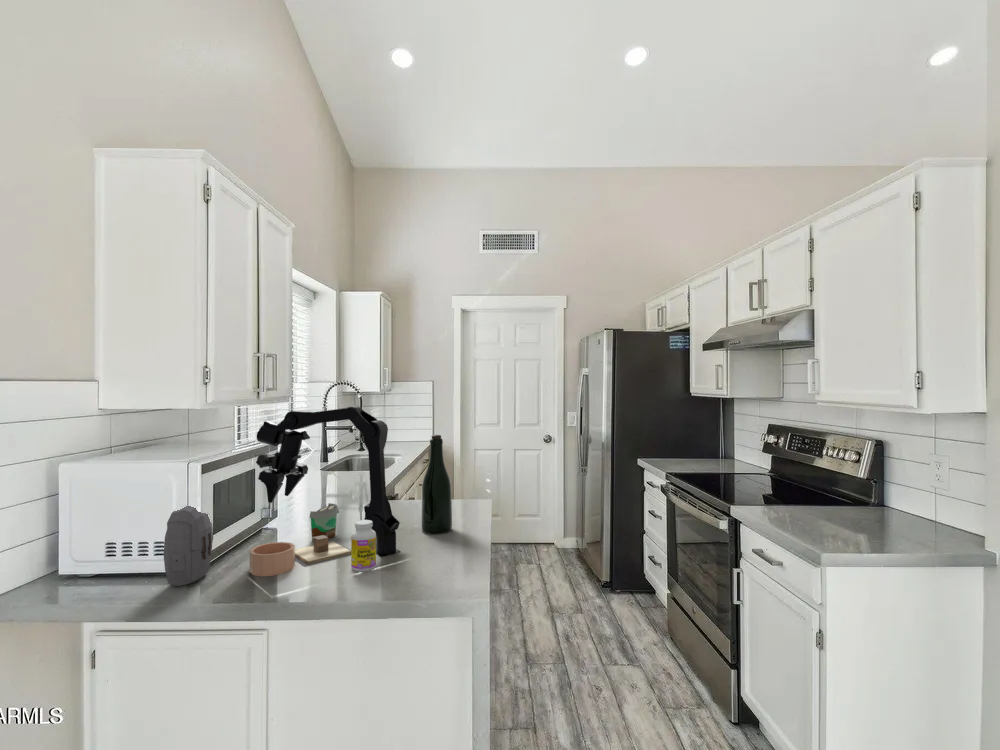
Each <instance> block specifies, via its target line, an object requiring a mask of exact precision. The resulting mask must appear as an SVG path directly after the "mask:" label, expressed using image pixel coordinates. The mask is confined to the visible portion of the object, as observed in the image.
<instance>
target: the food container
mask: <svg viewBox="0 0 1000 750" xmlns="http://www.w3.org/2000/svg"><path fill="white" fill-rule="evenodd" d="M339 513H340V510H339V507H338V505H337V504H336V503H332V502H331V503H329V502H328V504H327V506H326V507H322V508H319V509H318V510H316V511H310V513H309V519H310V531H311V540H312V541H313V537H317V536H321V535H325V536H327V537H328V540H329V539H332V538H334V537H335V536H336V533H337V520H338V519H337V518H338V514H339Z"/></svg>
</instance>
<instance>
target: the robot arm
mask: <svg viewBox="0 0 1000 750" xmlns="http://www.w3.org/2000/svg"><path fill="white" fill-rule="evenodd" d="M347 420H349V421H350V422H351V423H352V424H353V426H354V427H355V428H356V429H357V430H358V431H359V432H360V433H361V434H362V435H361V436H362V439H363V443H364V446H365V447H366V450H367V452H368V470H369V486H370V487H369V489H370V490H369V491H370V500H369V503H367V504H365V505H364V507H363V510H364V511H363V512H364V519H363V520H371V521H372V522H373V526H372V530H374V531H375V532H376V556H379V557H383V558H384V557H388V556H391V555H396V554H399V553H401V550H399V549H397V532H396V531H397V530H398V529H399V527H400V521H399V520H398V519H397V518H396V517H395V516H394V515H393V512H392V511H393V510H392V507H391V503H390V501H389V499H388V497H387V488H386V487H387V485H386V470H385V447H386V443H387V439H388V432H389V431H388V429H389V428H388V425H387V423H386V422H385V421H382V420H378V419H377V418H376V417H375V416H374V415H371V414H369V413H368V412H366V411H365V410H364V409H362V407H361V406H357V405H353V406H352V405H351V406H348V407H344V408H336V409H328V410H320V411H315V410H306V409H305V410H304V409H302V410H301V409H299V410H291V411H288V412H287V413H286V414H285V416H284V418H283V419H282V420H281V421H280V422H279V423H278V424H277V423H275V422H272V421H270V420H265V421H263V424H262V426H260V428H259V429H258V431H257V433H256V441H257V442H259V443H262V444H266V445H270V446H272V447H278V446H279V445H280V448H279V451H276V452H275V454H273V455H271V454H270V455H267V454H266V453H265V454H259V455H258V456H257V458H256V461H255V463H256V465H257V466H258V467H259V468H260V469H262V468H267V467H270V468H267V469H264V470H262V471H260V472H259V473H258V478H257V479H258V480H259V481H260V482H261V483H263V484H264V485H265V489H266V495H267V502H268V503H270V504H272V503H273V501H274V500H275V499H276V496H277V495H278V493H279V491H280V490H281V488H282V486H283V484H284V483H283V482H284V481H285V479H286V481H285V487H284V496H286V497H288V496H289V497H290V494H291V493H292V492H293V490H294V489H295V487H297V485H298V484H299V483H300V482H301V481H302V479H303V478H304V477H305V475H308V471H309V466H308V465H307V464H305V463H302V462H298V460H299V459H301V458H302V454H301V453H300V452H301V447H302V444H303V443H302V442H303V441H305V440H311V439H310V438H311V436H310V435H309V434H308V432H307V431H306V430H303V431H301V432H300V431H298V430H300V429H306V428H309V427H311V426H315V425H317V424H324V423H330V422H340V421H347ZM288 430H289V431H288Z"/></svg>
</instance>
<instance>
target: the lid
mask: <svg viewBox="0 0 1000 750" xmlns="http://www.w3.org/2000/svg"><path fill="white" fill-rule="evenodd" d="M312 541H313V542H312V543H313V544H312V545H310V546H309V545H308V546H304V547H301V548H295V556H296V557H298V558H299V559H301V560H302V561H304V562H305V563H307V564H311V563H315V562H319V561H324V560H328V559H332V558H336V557H340V556H344V555H348V554H351V551H350V550H351V549H350V550H348V549H349V548H348V549H346V548H347V547H346V546H344V545H342V544H340V543H338V542H336V541H334V540H331V541H329V539H328V537H327V536H325V535H321V536H317V537H313V540H312ZM335 542H336V543H335ZM337 543H338V544H337ZM339 544H340V545H339ZM341 545H342V546H341ZM343 546H344V547H343ZM345 547H346V548H345Z"/></svg>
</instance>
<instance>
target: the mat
mask: <svg viewBox="0 0 1000 750" xmlns="http://www.w3.org/2000/svg"><path fill="white" fill-rule="evenodd" d="M334 542H335V543H337V544H339V545H341V546H343V547H345V548H346V549H348V550H350V551H351V549H350V548H348V547H346V546H344V545H342V544H340V543H338V542H336V541H334ZM347 557H348V558H349V557H351V554H348V555H344V556H340V557H336V558H332V559H328V560H324V561H319V562H315V563H311V564H307V563H305V562H304V561H302V560H301V559H299V558H298V557H296V556H295V563H298V564H299V565H301V566H302V567H304V568H309V567H311V566H315V565H319V564H324V563H328V562H332V561H335V560H340V559H343V558H347Z"/></svg>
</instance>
